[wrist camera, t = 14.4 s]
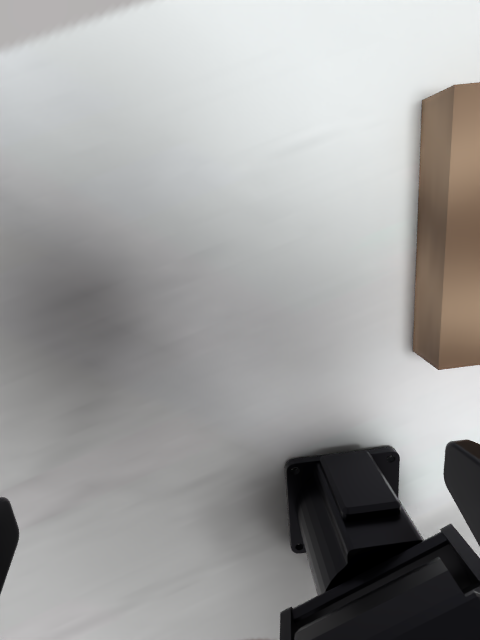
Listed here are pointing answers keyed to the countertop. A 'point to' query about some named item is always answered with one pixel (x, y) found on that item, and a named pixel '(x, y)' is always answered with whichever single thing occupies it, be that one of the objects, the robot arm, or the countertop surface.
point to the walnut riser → (449, 230)
